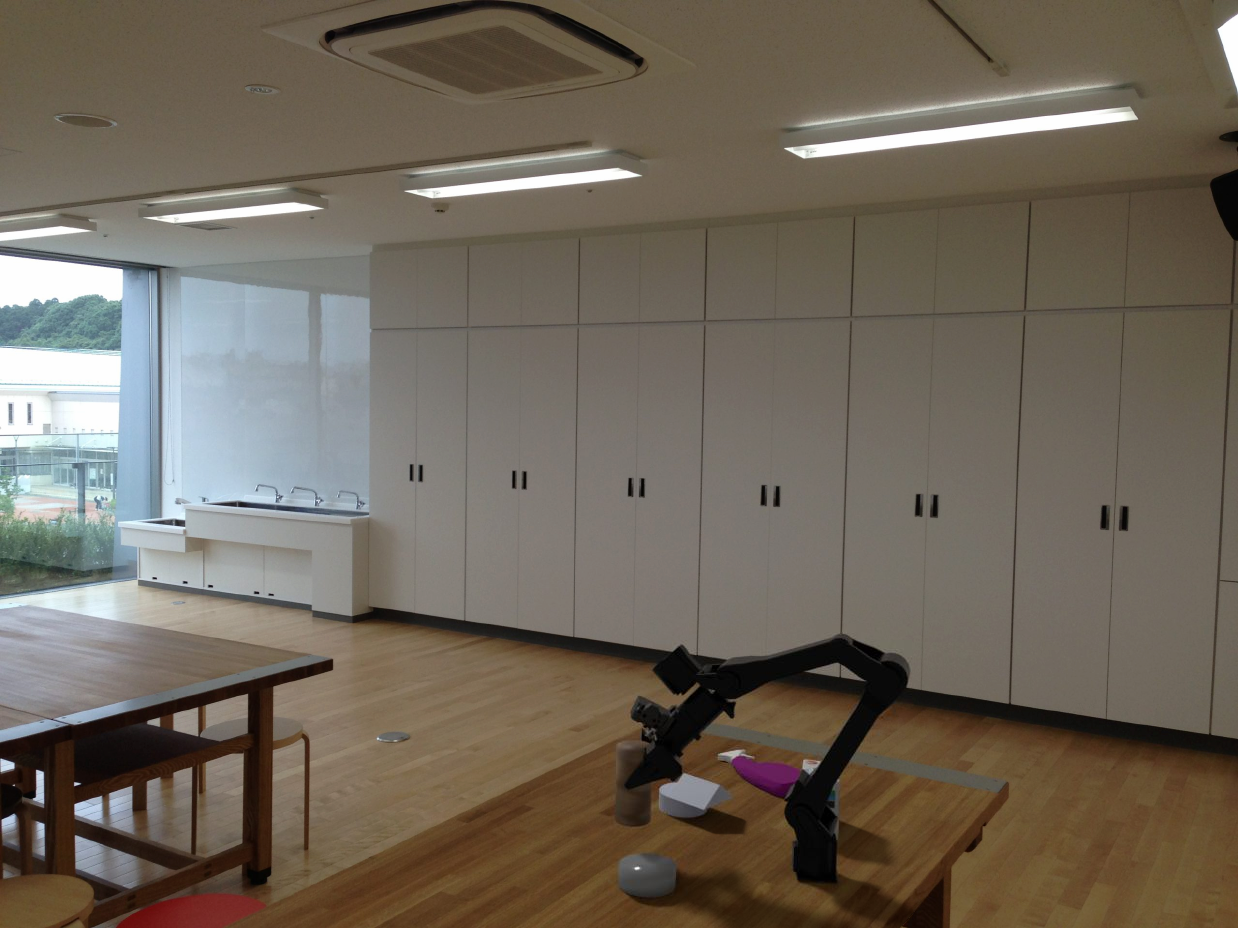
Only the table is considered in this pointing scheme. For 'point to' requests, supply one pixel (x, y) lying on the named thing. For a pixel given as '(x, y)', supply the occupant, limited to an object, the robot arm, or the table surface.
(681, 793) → the wedge on round base
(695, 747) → the table surface
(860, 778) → the table surface
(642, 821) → the walnut cylinder
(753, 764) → the spray bottle
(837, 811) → the light bulb box
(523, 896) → the table surface
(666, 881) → the slate pedestal
